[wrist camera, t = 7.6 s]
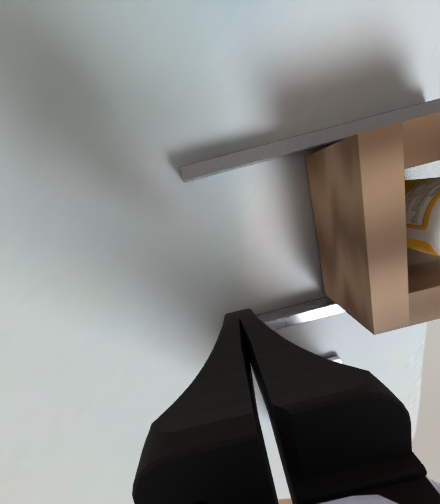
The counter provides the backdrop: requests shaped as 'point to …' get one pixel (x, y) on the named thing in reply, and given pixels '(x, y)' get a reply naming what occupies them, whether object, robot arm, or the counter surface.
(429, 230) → the supplement bottle
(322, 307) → the guide rails
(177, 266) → the counter surface
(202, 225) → the counter surface
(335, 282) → the housing
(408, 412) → the robot arm
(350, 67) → the counter surface
